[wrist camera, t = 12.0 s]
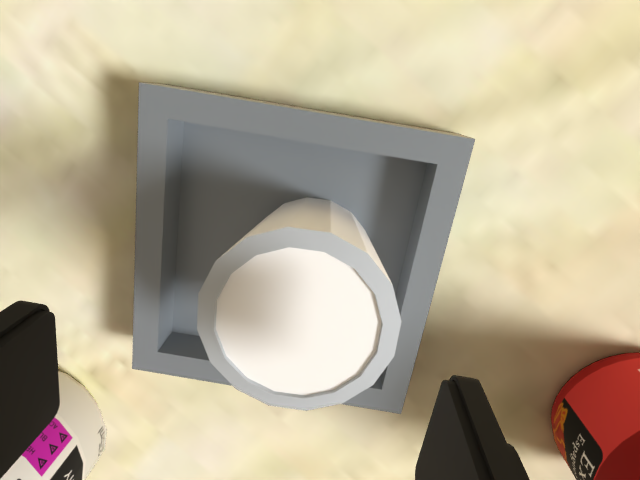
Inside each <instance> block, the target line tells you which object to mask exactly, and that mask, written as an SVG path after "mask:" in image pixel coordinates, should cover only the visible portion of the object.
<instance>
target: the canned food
mask: <svg viewBox="0 0 640 480" xmlns="http://www.w3.org/2000/svg"><path fill="white" fill-rule="evenodd" d="M551 422H552V429H553V434H554V440H555V442H556V445H557V447H558V449H559V451H560V453H561V454H562V456H563V458H564V459H565V461H566V463H567V464H568V466H569V468H570V469H571V471H572V473H573V474H574V476H575V478H576V479H577V480H640V353H625V354H620V355H615V356H610V357H607V358H605V359H602V360H599V361H596V362H594V363H592V364H591V365H589V366H587V367H585V368H583V369H582V370H581V371H579V372H578V373H577V374H575V375H574V376H573V377H571V379H570V380H569V381H568V382H567V383H566V384H565V385H564V386H563V387H562V389H561V390H560V392H559V393H558V395H557V396H556V399H555V401H554V404H553V407H552V413H551Z"/></svg>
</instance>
